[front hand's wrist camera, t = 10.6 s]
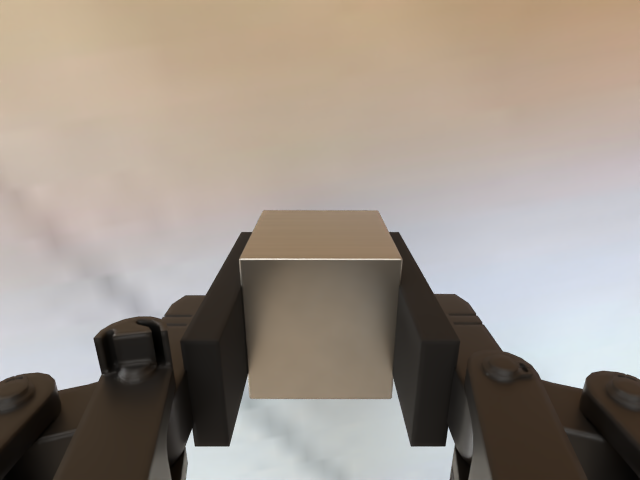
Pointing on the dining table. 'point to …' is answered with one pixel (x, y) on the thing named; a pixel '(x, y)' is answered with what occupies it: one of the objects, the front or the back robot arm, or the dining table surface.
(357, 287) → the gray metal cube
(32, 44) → the dining table surface
